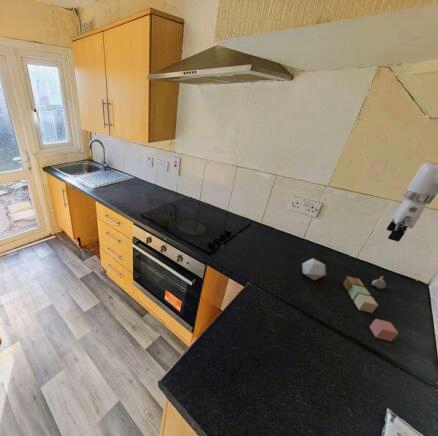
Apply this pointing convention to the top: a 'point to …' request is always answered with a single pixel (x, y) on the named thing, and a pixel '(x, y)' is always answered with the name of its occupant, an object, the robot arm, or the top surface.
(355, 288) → the block
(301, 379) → the top surface
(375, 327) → the block
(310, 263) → the die
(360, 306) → the block
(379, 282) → the figurine
